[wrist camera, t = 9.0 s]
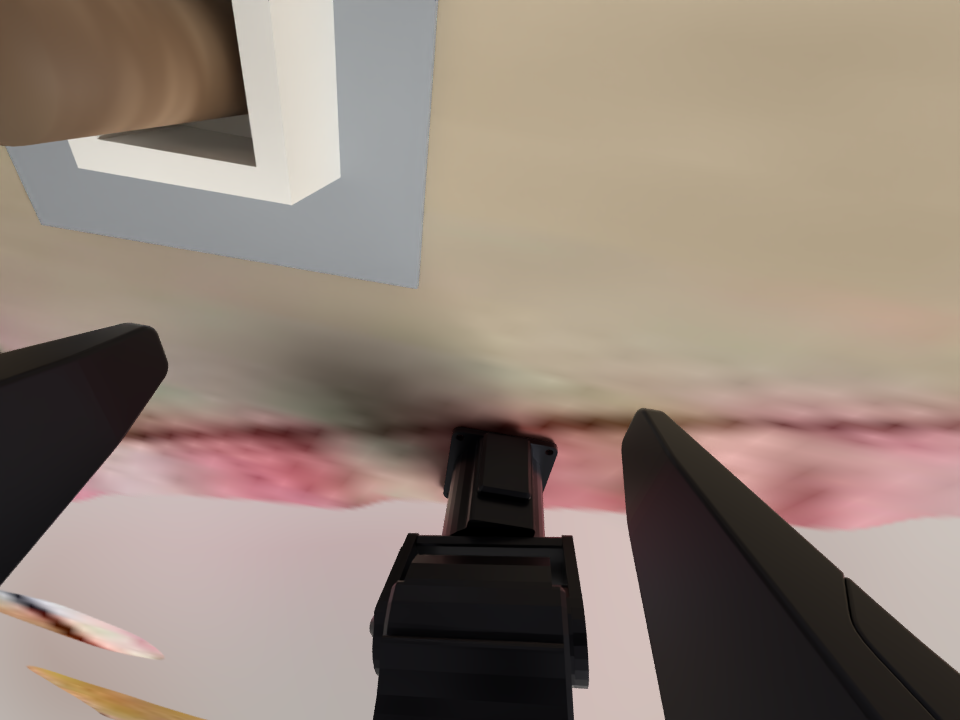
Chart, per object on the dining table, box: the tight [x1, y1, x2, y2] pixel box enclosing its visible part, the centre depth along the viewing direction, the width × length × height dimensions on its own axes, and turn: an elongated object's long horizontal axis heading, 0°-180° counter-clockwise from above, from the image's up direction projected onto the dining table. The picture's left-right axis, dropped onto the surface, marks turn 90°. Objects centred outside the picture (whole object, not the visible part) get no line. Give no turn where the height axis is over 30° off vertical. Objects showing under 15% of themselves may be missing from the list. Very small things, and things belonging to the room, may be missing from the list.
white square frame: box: [68, 0, 341, 205], centre depth 13 cm, size 7×7×4 cm
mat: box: [5, 0, 438, 289], centre depth 17 cm, size 12×18×1 cm, turn 82°
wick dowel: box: [0, 0, 249, 147], centre depth 11 cm, size 3×3×9 cm
